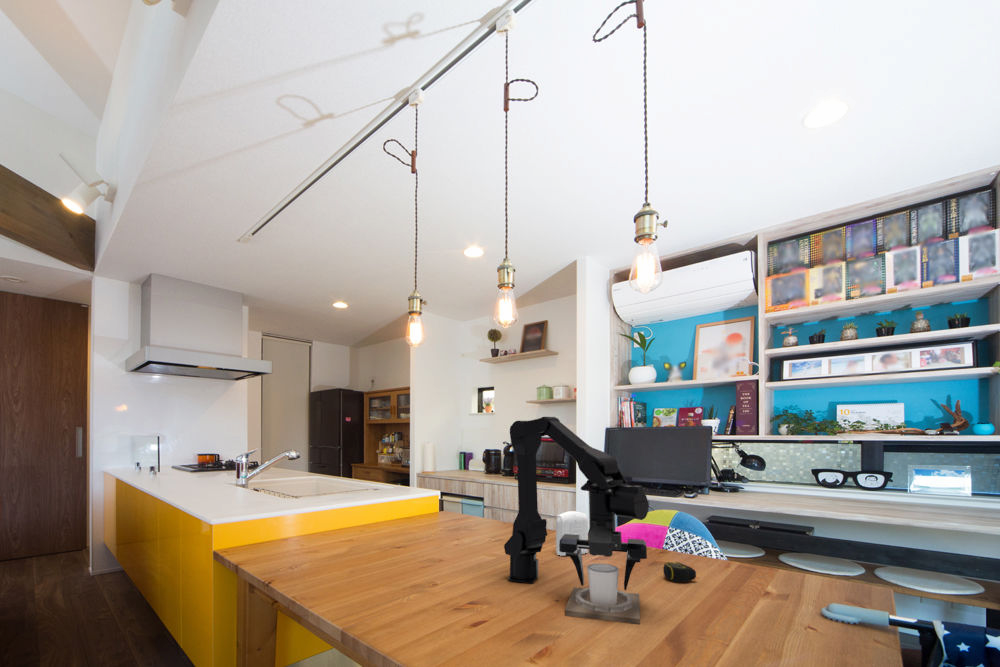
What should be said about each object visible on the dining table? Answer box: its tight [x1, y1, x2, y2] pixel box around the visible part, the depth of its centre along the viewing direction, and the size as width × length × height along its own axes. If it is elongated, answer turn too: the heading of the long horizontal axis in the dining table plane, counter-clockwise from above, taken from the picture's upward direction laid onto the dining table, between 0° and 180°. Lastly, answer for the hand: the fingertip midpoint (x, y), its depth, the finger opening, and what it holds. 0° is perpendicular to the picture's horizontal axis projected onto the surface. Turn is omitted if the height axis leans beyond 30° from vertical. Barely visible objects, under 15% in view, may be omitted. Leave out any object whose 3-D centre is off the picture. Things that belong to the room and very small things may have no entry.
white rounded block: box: [555, 510, 589, 557], centre depth 150 cm, size 10×4×12 cm, turn 114°
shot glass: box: [586, 563, 619, 605], centre depth 108 cm, size 7×7×7 cm
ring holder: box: [564, 586, 641, 625], centre depth 107 cm, size 15×15×2 cm
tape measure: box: [662, 561, 697, 583], centre depth 127 cm, size 7×7×4 cm
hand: (603, 587), depth 108 cm, fingers open, 9 cm apart
